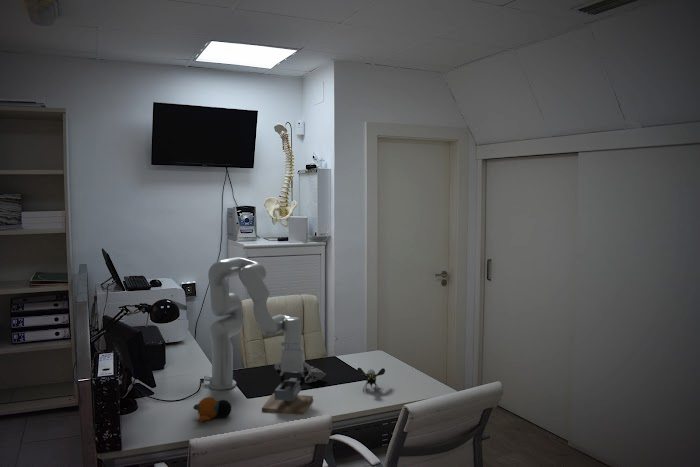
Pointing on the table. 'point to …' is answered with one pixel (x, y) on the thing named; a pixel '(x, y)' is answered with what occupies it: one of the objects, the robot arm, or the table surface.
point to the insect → (371, 376)
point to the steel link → (288, 394)
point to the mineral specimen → (314, 375)
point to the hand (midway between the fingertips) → (292, 384)
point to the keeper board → (288, 404)
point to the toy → (212, 408)
